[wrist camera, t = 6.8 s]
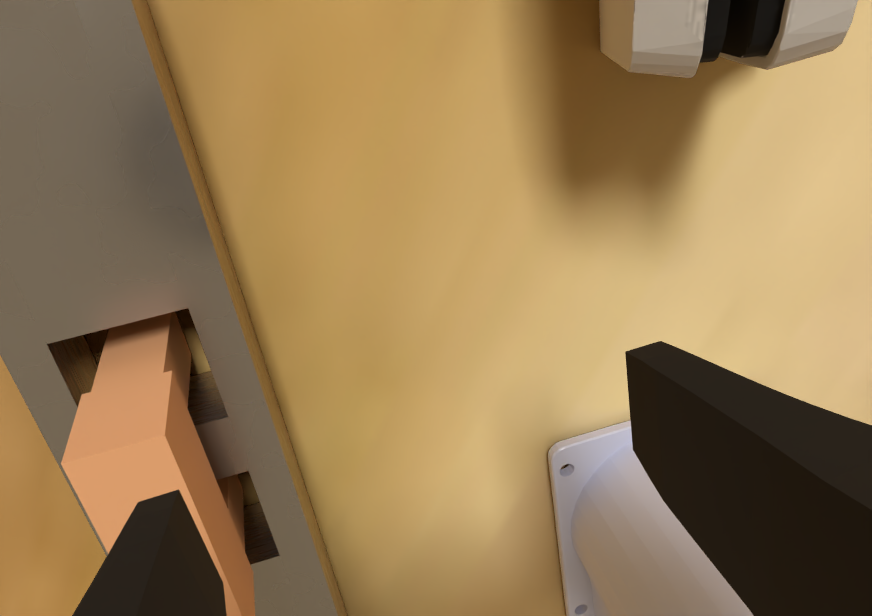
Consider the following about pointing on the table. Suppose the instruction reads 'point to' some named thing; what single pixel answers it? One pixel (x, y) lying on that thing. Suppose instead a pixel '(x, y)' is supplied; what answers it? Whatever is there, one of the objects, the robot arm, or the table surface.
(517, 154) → the table surface
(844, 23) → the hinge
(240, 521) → the clip
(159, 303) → the rail
